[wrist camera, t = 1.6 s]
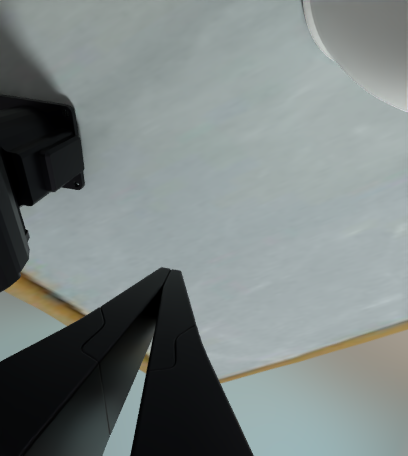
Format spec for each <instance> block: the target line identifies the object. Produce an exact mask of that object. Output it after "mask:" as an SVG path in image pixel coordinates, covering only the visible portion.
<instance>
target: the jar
mask: <svg viewBox="0 0 408 456" xmlns="http://www.w3.org/2000/svg"><path fill="white" fill-rule="evenodd" d="M303 9H304V15H305V19H306V23H307V26H308V29H309V31H310V34H311V36H312V38H313V40H314V41H315V43H316V45H317V46H318V47H319V49H320V50H321V51H322V52H323V53H324V54H325V55H326V56H327V57H328V58H330V59H331V60H333V61H334V62H336V63H337V64H338V65H339V66H340V67H341V69H342V70H343V71H344V72H345V73H346V74H347V75H348V76H349V77H350V78H351V79H352V80H353V81H354V82H355V83H356V84H358V85H359V86H360V87H361V88H363V89H364V90H365V91H367V92H368V93H370V94H371V95H373V96H374V97H376V98H378V99H379V100H381V101H383V102H385V103H387V104H389V105H391V106H393V107H395V108H397V109H400V110H402V111H405V112H408V0H303Z"/></svg>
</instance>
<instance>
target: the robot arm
mask: <svg viewBox="0 0 408 456" xmlns="http://www.w3.org/2000/svg"><path fill="white" fill-rule="evenodd" d="M65 110H67V111H68V112H69V116H68V115H66V113H65ZM83 170H84V162H83V155H82V147H81V140H80V138H79V136H78V130H77V123H76V115H75V111H74V109H73V108H72V107H71V106H69V105H65V104H59V103H52V102H46V101H40V100H33V99H27V98H20V97H14V96H7V95H1V94H0V292H2V291H4V290H5V289H7V288H8V287H10V286H11V285H12V284H13V283H15V282H16V281H17V280H18V279H19V278H20V277H21V274H20V272H21V271H22V269H23V267H24V266H25V264H26V263H27V261H28V260H29V251H30V249H29V246H28V240H29V238H30V236H29V233H28V230H26V229H25V226H24V222H23V219H22V216H21V212H20V209H19V208H20V207H22V206H23V205H26V206H33V205H34V204H35V203H37V202H38V201H39V200H41V199H42V198H43V197H45V196H46V195H47V194H49V193H50V192H56V191H57V190H58V189H60V188H61V187H63V188H69V189H75V190H80V189H82V188H83V187H84V185H85V182H84V175H83ZM76 182H78V183H79V185H78V184H77V183H76ZM153 335H154V336H153ZM152 338H153V341H152V346H151V351H150V357H149V362H148V367H147V372H146V378H145V382H144V388H143V393H142V398H141V404H140V409H139V414H138V419H137V424H136V429H135V435H134V440H133V445H132V450H131V455H130V456H253V453H252V451H251V449H250V447H249V445H248V442H247V440H246V438H245V436H244V434H243V432H242V429H241V427H240V425H239V423H238V421H237V419H236V417H235V414H234V412H233V410H232V408H231V406H230V404H229V401H228V399H227V397H226V395H225V393H224V391H223V388H222V386H221V384H220V382H219V380H218V378H217V375H216V373H215V371H214V369H213V367H212V365H211V363H210V360H209V358H208V356H207V354H206V351H205V349H204V346H203V344H202V341H201V338H200V335H199V332H198V328H197V326H196V322H195V318H194V315H193V311H192V308H191V304H190V301H189V297H188V294H187V290H186V287H185V283H184V279H183V276H182V272H181V271H179V270H174V269H172V270H170V269H169V268H163V267H161V268H159V269H158V270H156V271H155V272H153V273H152V274H150V275H148V276H147V277H145V278H144V279H142V280H141V281H139V282H138V283H136V284H135V285H133V286H132V287H130V288H129V289H127V290H125V291H124V292H122V293H121V294H119V295H118V296H116V297H115V298H113V299H112V300H110V301H109V302H107V303H105V304H104V305H102V306H101V307H99V308H97V309H96V310H94V311H93V312H91V313H89V314H88V315H86V316H85V317H83V318H81V319H80V320H78V321H76V322H74V323H72V324H71V325H69V326H67V327H65V328H63V329H62V330H60V331H58V332H56V333H54V334H52V335H50V336H48V337H46V338H44V339H43V340H41V341H39V342H37V343H35V344H33V345H31V346H29V347H27V348H25V349H23V350H21V351H20V352H18V353H16V354H14V355H12V356H10V357H8V358H6V359H4V360H3V361H1V362H0V456H102V455H103V452H104V450H105V447H106V444H107V442H108V440H109V437H110V435H111V433H112V430H113V428H114V426H115V423H116V421H117V419H118V416H119V414H120V412H121V409H122V407H123V405H124V402H125V400H126V398H127V396H128V393H129V391H130V389H131V386H132V384H133V382H134V379H135V377H136V375H137V372H138V370H139V368H140V366H141V363H142V361H143V359H144V356H145V354H146V352H147V349H148V347H149V345H150V342H151V340H152Z"/></svg>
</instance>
